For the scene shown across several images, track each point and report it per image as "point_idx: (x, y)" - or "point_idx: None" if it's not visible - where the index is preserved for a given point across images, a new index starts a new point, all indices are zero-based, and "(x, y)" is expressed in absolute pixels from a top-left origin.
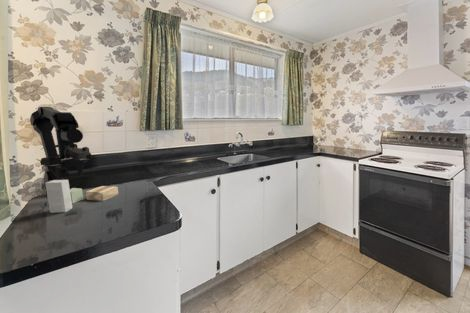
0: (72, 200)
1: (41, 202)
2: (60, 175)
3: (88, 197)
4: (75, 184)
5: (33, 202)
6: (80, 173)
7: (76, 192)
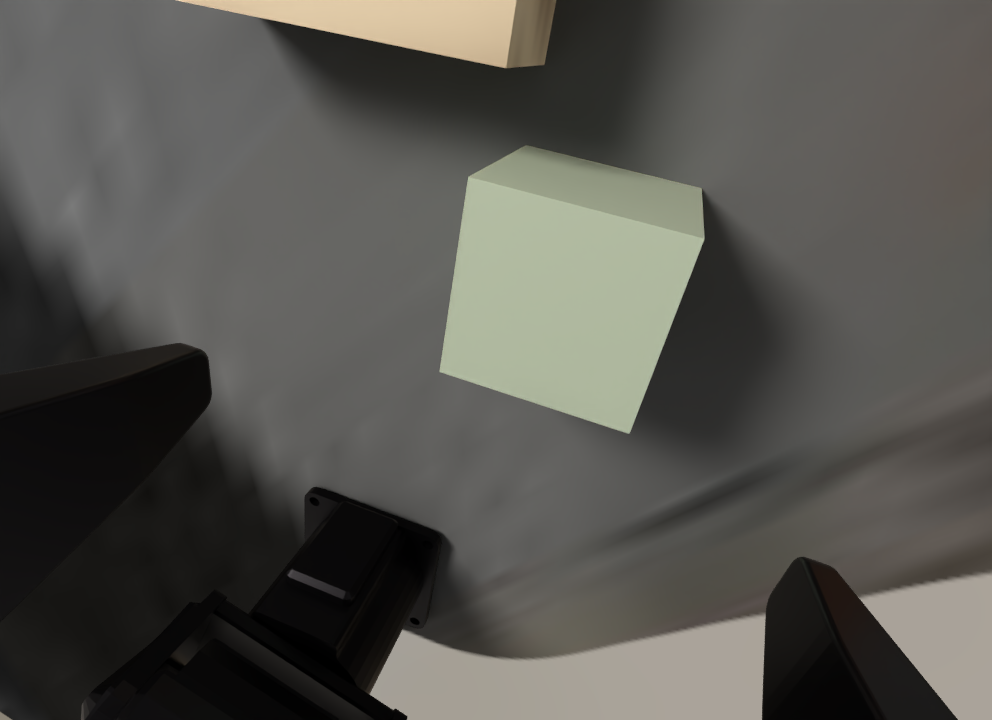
0: (701, 199)
1: (627, 573)
2: (920, 714)
3: (543, 17)
4: (125, 551)
5: (619, 634)
6: (166, 375)
7: (600, 201)
